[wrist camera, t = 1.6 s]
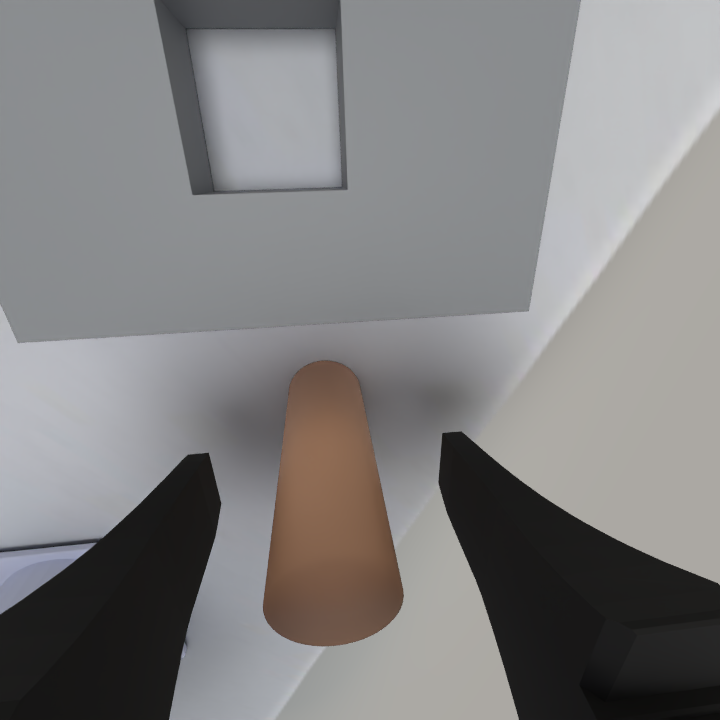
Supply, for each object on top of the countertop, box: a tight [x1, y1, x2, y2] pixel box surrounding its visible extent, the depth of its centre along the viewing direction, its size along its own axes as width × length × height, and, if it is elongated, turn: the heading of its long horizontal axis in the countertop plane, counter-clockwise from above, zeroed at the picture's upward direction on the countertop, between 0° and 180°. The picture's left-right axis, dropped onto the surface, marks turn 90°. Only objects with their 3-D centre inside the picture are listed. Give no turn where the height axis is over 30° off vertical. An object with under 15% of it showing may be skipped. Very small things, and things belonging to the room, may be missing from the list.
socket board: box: [0, 0, 581, 343], centre depth 10 cm, size 15×16×2 cm
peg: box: [263, 361, 404, 646], centre depth 12 cm, size 3×3×9 cm
